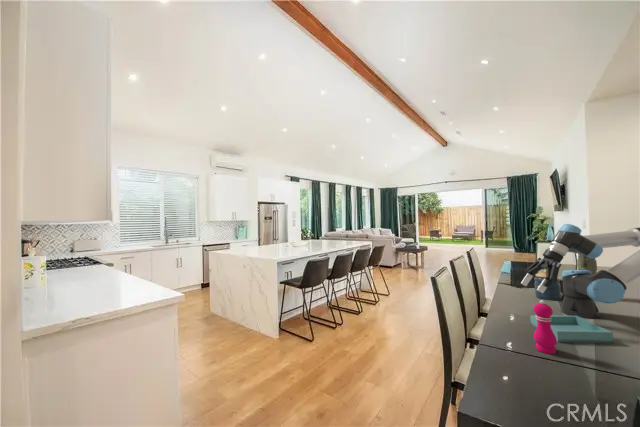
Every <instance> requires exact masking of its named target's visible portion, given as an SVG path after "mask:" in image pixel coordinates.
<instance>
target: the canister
mask: <svg viewBox="0 0 640 427" xmlns="http://www.w3.org/2000/svg"><path fill="white" fill-rule="evenodd" d="M545 277H546V269H543V272H537V273H535V277H533V279H534V295H535V298H538V299H541V298H542V299H541V300H546V299H547V300H546V301H559V299H560V300H562V294H561V284H560V281H561V279H560V278H558V277H557V281H556V282H554V281H553V282H551V283H550V284H549V286H548V287H547V288H546V290H545V291H544V293H541V292H539V291H538V290H537V289H538V287H539V286H540V284H541V283H542V281H543V280H544V279H545ZM553 278H554V277H553ZM546 280H547V279H546Z"/></svg>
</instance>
